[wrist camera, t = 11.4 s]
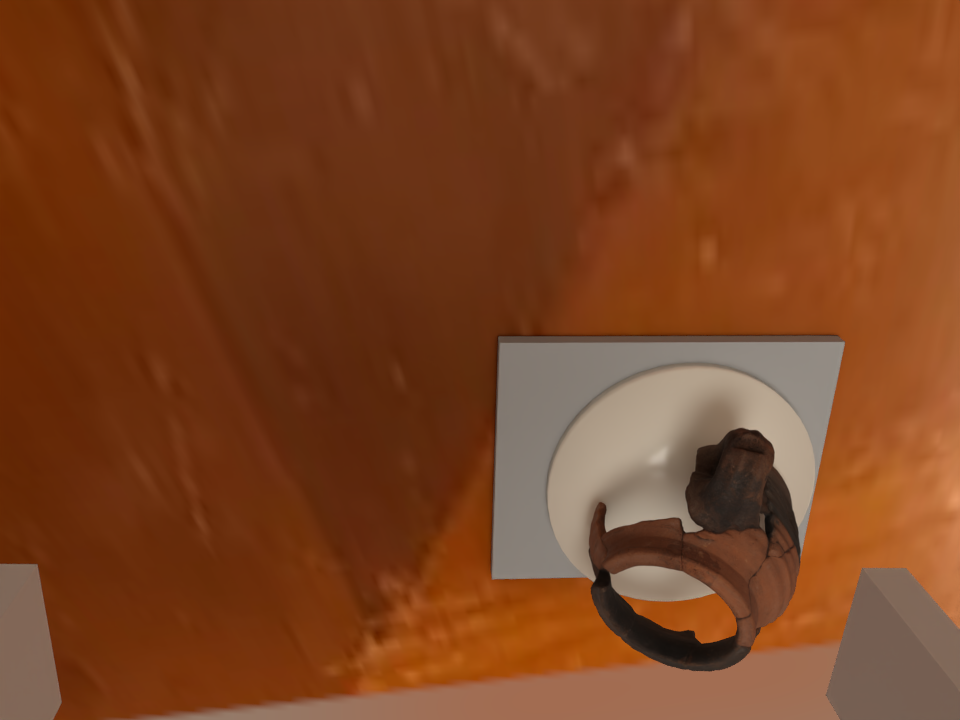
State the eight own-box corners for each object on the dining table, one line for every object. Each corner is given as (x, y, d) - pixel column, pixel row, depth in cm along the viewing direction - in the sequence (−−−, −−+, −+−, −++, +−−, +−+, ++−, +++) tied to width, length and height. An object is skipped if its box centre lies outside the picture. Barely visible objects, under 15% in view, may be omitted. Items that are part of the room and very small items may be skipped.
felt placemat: (490, 569, 44) (491, 579, 43) (498, 336, 38) (499, 343, 38) (791, 563, 45) (797, 572, 44) (837, 335, 39) (845, 342, 39)
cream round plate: (539, 593, 43) (541, 604, 43) (553, 363, 38) (556, 370, 38) (784, 588, 44) (791, 598, 43) (830, 361, 39) (838, 368, 38)
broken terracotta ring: (782, 579, 43) (755, 715, 37) (607, 517, 46) (556, 635, 40) (855, 403, 36) (835, 538, 30) (642, 343, 39) (585, 455, 33)
